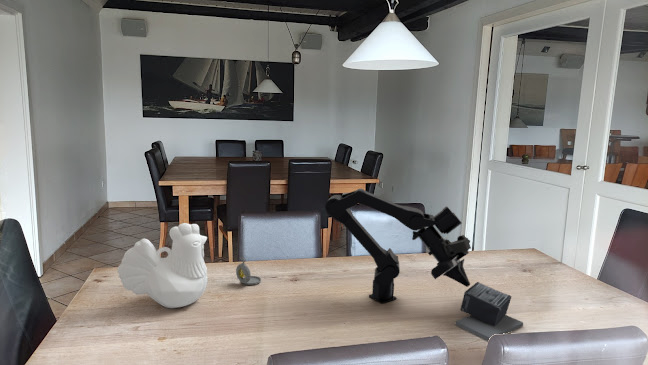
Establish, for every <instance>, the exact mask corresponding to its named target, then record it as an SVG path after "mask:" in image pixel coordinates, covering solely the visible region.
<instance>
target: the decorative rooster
mask: <svg viewBox="0 0 648 365" xmlns="http://www.w3.org/2000/svg"><path fill="white" fill-rule="evenodd" d="M168 234H169V236H170V238H171V240H172V243H171V248H169V247H166V246H161V247H159V248H158V249H157V248H156V247H155V246H154V244H153V243H152V242H151V241H150V240H149V239H147V238H141V239H140V240H139V241H136V242H135V243H134V245H133V247H130V248H129V249H127V251H125V252H124V255H123V257H122V259H121V262H120V264H119V265H118V267H117V269H116V270H117V273H118V278H119V279H120V281H121V284H122V286H123V288H124V289H125V290H127V291H132V293H133V294H135V295H145V294H146V295H147V296H148V297H150V299H152V300H153V301H155V302H156V303H158V304H159V305H161V306H162V307H165V308H167V309H176V308H181V307H186V306H189V305H191V304H193V303H195V302H196V301H197V300H198V299H200V298H201V296H202V295H203V294H204V292H206V291H205V290H206V288H207V285H208V279H209V278H208V268H207V264H206V263H205V260H204V258H205V252H204V249H205V245H204V244H206V241H207V239H208V237H207V236H205V235H201V234H200V226H199V225H198V224H197V223H192V224H190V223H187V222H183V223H180V224H178V226H173V227H171V228H170V230H169V233H168ZM163 252H166V253H167V256H165V257H162V256H161V253H163Z"/></svg>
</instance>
